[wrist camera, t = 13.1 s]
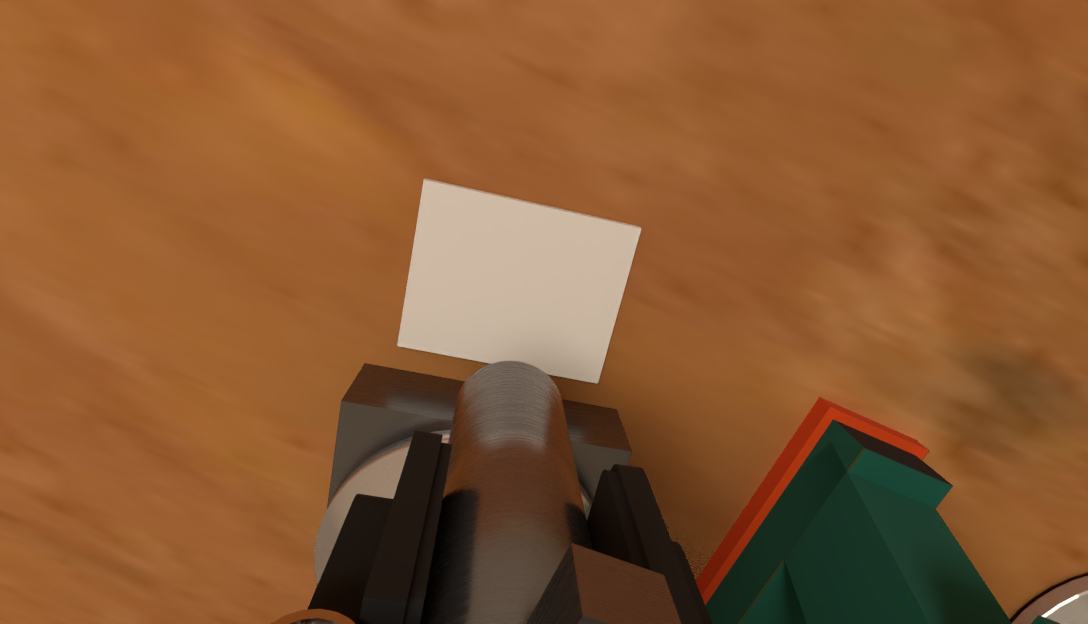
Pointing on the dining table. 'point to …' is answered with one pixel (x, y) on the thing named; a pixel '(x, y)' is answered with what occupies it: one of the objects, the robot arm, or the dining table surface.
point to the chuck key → (525, 519)
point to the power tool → (846, 537)
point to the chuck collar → (372, 493)
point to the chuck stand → (428, 405)
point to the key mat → (514, 281)
